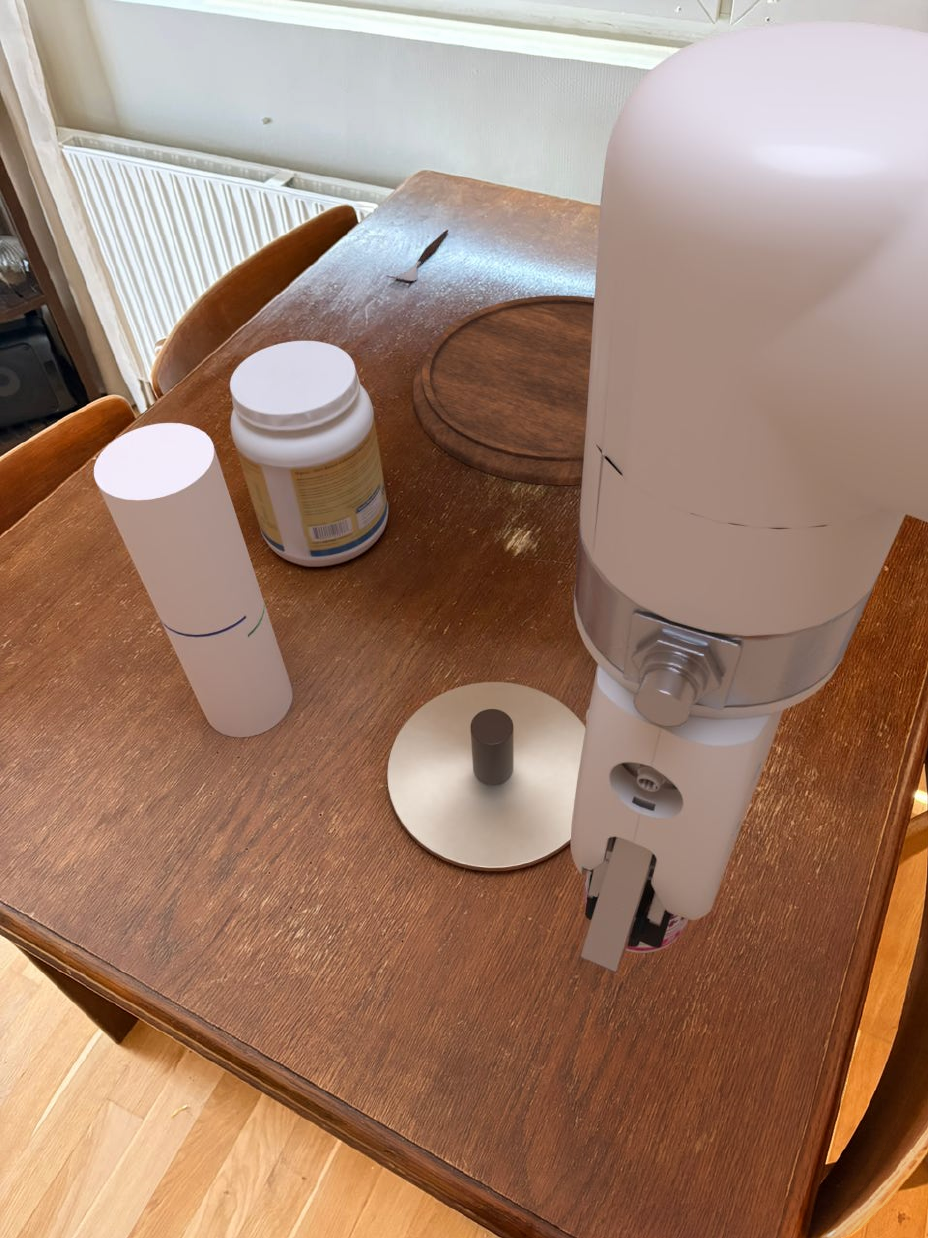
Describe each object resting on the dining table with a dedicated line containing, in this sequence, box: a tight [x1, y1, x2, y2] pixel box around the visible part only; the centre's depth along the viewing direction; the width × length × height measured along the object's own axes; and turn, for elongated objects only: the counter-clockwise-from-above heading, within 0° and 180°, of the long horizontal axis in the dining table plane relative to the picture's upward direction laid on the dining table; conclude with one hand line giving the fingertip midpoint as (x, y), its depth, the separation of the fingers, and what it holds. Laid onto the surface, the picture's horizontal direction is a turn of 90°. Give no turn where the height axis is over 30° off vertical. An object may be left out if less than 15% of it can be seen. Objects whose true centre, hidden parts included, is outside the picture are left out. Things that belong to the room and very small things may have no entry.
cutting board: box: [412, 294, 594, 486], centre depth 97 cm, size 32×32×2 cm
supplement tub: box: [229, 340, 389, 568], centre depth 79 cm, size 12×12×17 cm
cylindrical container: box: [93, 422, 294, 738], centre depth 63 cm, size 7×7×25 cm
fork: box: [386, 229, 449, 282], centre depth 117 cm, size 3×16×2 cm, turn 156°
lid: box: [386, 681, 586, 872], centre depth 65 cm, size 16×16×7 cm
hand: (645, 866), depth 38 cm, fingers closed on pill bottle, 4 cm apart
